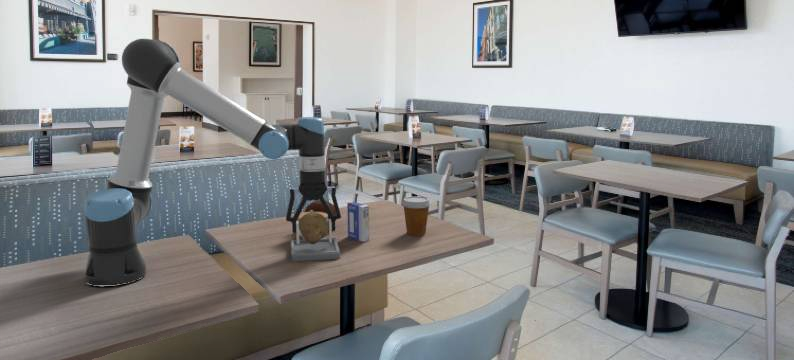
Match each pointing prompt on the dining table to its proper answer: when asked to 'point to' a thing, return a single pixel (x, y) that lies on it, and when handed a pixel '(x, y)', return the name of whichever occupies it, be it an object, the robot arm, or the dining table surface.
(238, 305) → the dining table surface
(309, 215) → the natural sponge
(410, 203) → the disposable coffee cup
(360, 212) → the walkman
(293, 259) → the slate square tray
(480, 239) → the dining table surface
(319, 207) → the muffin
